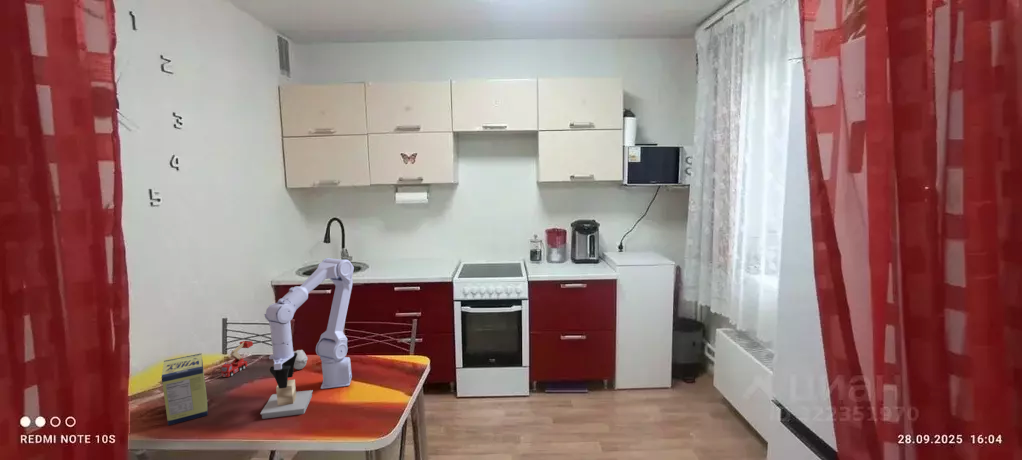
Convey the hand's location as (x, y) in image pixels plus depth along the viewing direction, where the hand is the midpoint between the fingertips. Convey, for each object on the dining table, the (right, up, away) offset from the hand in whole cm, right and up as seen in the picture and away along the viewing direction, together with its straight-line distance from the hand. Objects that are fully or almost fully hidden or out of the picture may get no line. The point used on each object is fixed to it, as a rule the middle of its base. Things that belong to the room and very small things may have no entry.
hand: (286, 382), depth 151 cm
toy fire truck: (-33, -5, +31) cm, 45 cm away
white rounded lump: (-9, -5, +31) cm, 32 cm away
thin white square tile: (0, -9, +1) cm, 9 cm away
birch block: (0, -6, +1) cm, 6 cm away
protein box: (-31, -9, +1) cm, 33 cm away
